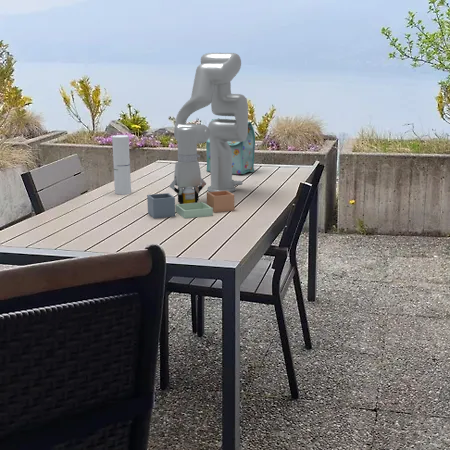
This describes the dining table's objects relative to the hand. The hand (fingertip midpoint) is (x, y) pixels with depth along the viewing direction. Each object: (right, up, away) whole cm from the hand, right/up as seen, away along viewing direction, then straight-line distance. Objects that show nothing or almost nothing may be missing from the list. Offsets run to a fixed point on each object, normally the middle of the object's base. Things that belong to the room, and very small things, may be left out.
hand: (188, 202), depth 270 cm
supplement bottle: (0, -2, +1) cm, 2 cm away
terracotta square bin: (+13, -3, -5) cm, 14 cm away
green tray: (+3, -5, -12) cm, 13 cm away
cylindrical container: (-30, +5, +29) cm, 42 cm away
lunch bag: (+17, +18, +75) cm, 79 cm away
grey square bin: (-10, -6, -13) cm, 17 cm away
